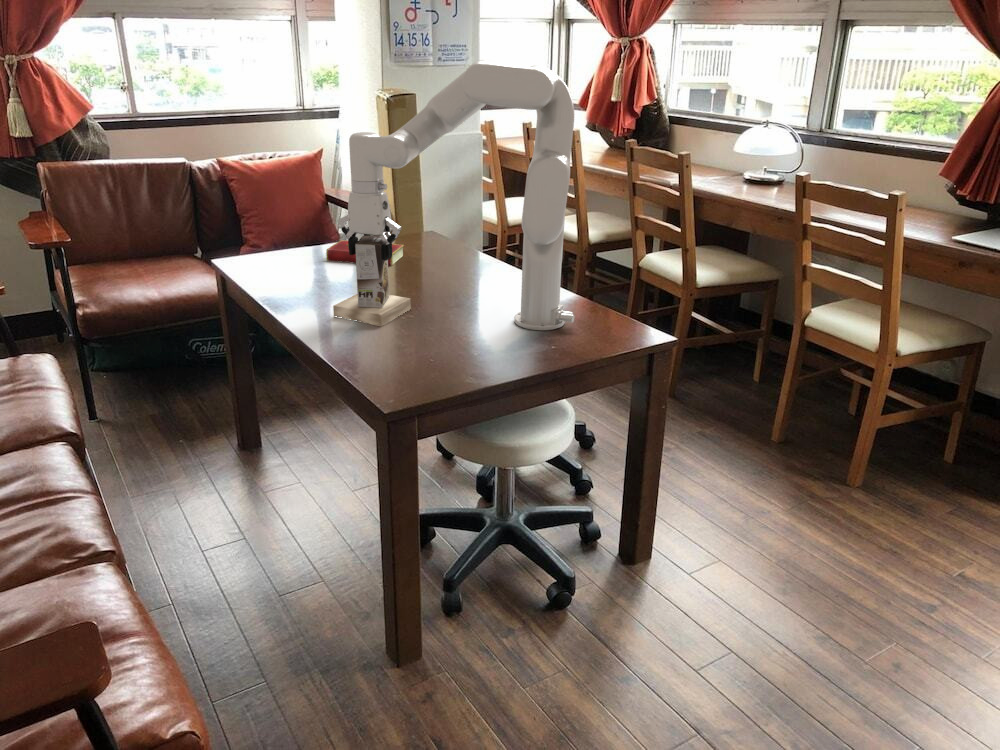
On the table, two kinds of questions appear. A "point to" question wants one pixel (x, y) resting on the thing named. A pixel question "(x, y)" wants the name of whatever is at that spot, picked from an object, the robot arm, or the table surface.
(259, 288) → the table surface
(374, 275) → the coffee box
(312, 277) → the table surface
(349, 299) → the birch base
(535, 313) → the robot arm
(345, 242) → the hardcover book
